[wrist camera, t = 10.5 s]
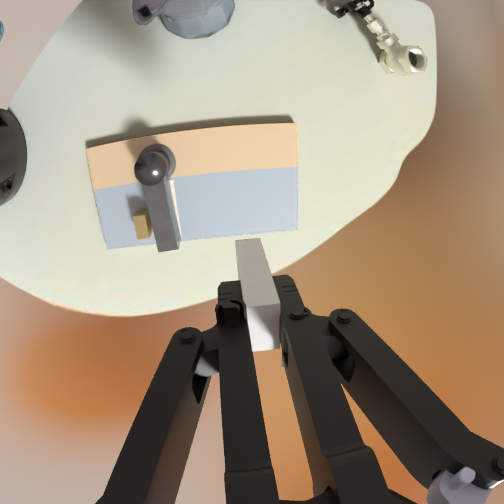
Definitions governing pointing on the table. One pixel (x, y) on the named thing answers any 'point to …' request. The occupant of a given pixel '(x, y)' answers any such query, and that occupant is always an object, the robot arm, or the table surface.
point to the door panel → (203, 181)
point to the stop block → (142, 224)
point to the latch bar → (159, 198)
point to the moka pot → (186, 15)
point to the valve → (387, 42)
